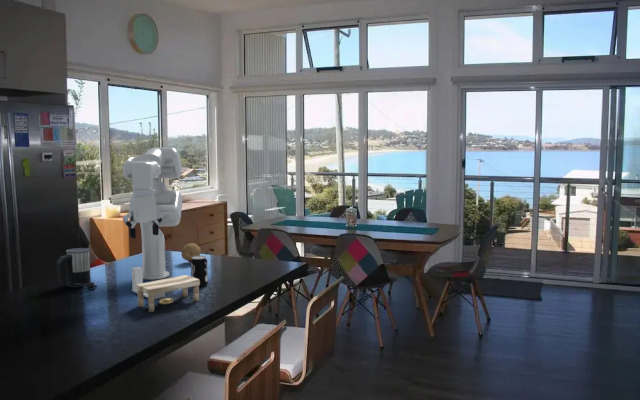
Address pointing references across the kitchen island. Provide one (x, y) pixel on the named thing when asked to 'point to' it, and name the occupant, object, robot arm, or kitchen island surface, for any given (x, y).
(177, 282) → the low shelf
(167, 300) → the gold metal disc
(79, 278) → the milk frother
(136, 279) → the white l-shaped block
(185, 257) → the natural sponge
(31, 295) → the kitchen island surface
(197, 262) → the beverage can
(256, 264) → the kitchen island surface
